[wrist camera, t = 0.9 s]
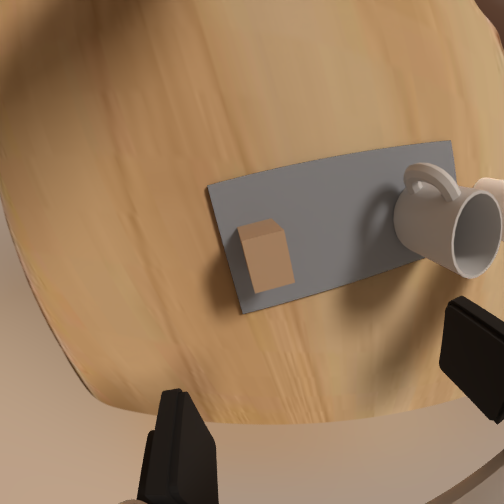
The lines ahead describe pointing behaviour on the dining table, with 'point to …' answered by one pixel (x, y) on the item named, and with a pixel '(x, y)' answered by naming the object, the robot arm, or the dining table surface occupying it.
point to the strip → (317, 222)
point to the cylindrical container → (494, 193)
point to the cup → (447, 221)
